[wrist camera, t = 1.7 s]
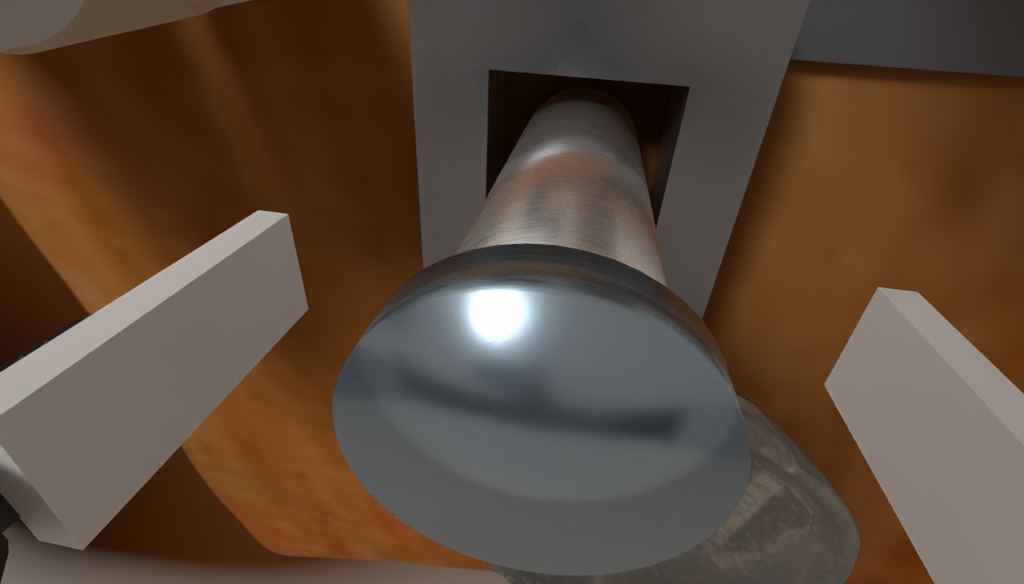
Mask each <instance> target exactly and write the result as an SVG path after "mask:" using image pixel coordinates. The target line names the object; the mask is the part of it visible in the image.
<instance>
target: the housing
mask: <svg viewBox="0 0 1024 584" xmlns="http://www.w3.org/2000/svg"><path fill="white" fill-rule="evenodd" d="M809 1H810V0H408V15H409V32H410V50H411V67H412V84H413V101H414V118H415V136H416V153H417V170H418V187H419V204H420V222H421V239H422V256H423V269H424V268H426V267H428V266H430V265H432V264H434V263H437V262H439V261H441V260H443V259H445V258H447V257H450V256H453V255H455V254H456V252H457V250H458V249H459V247H460V245H461V243H462V241H463V240H464V238H465V236H466V234H467V232H468V231H469V229H470V227H471V225H472V223H473V222H474V220H475V218H476V216H477V214H478V212H479V211H480V209H481V207H482V205H483V203H484V202H485V200H486V198H487V196H488V194H489V193H490V191H491V189H492V187H493V185H494V184H495V182H496V180H497V178H498V176H499V175H500V173H501V171H502V156H503V132H504V108H505V84H506V71H512V72H523V73H535V74H547V75H559V76H571V77H583V78H595V79H607V80H618V81H630V82H642V83H654V84H666V85H673V90H672V94H671V99H670V103H669V108H668V112H667V117H666V121H665V126H664V130H663V135H662V139H661V144H660V148H659V153H658V157H657V162H656V166H655V171H654V175H653V180H652V184H651V189H650V193H649V198H650V203H651V207H652V212H653V217H654V222H655V227H656V232H657V237H658V242H659V247H660V252H661V257H662V262H663V267H664V272H665V276H666V281H667V286H668V289H670V290H671V291H672V292H673V293H675V294H676V295H677V296H678V297H680V298H681V299H682V300H683V301H685V302H686V303H687V304H688V305H689V307H690V308H691V309H692V310H693V311H694V312H695V313H696V314H697V315H698V316H699V317H700V318H701V319H702V318H703V315H704V312H705V309H706V306H707V304H708V301H709V298H710V295H711V292H712V289H713V286H714V283H715V280H716V277H717V274H718V271H719V268H720V265H721V262H722V259H723V256H724V253H725V250H726V247H727V244H728V241H729V238H730V235H731V232H732V229H733V226H734V224H735V221H736V218H737V215H738V212H739V209H740V206H741V203H742V200H743V197H744V194H745V191H746V188H747V185H748V182H749V179H750V176H751V173H752V170H753V167H754V164H755V161H756V158H757V155H758V152H759V149H760V146H761V144H762V141H763V138H764V135H765V132H766V129H767V126H768V123H769V120H770V117H771V114H772V111H773V108H774V105H775V102H776V99H777V96H778V93H779V90H780V87H781V84H782V81H783V78H784V75H785V72H786V69H787V66H788V64H789V61H790V58H791V55H792V52H793V49H794V46H795V43H796V40H797V37H798V34H799V31H800V28H801V25H802V22H803V19H804V16H805V13H806V10H807V7H808V4H809Z"/></svg>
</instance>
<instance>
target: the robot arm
mask: <svg viewBox="0 0 1024 584" xmlns="http://www.w3.org/2000/svg"><path fill="white" fill-rule="evenodd" d="M307 310H308V305H307V300H306V295H305V290H304V286H303V281H302V276H301V272H300V267H299V262H298V258H297V253H296V248H295V244H294V239H293V234H292V230H291V225H290V220H289V215H288V214H284V213H276V212H268V211H260V210H258V211H256V212H255V213H253V214H252V215H250V216H248V217H247V218H245V219H244V220H242V221H240V222H239V223H237V224H236V225H234V226H232V227H231V228H229V229H228V230H226V231H225V232H223V233H221V234H220V235H218V236H217V237H215V238H213V239H212V240H210V241H209V242H207V243H205V244H204V245H202V246H201V247H199V248H197V249H196V250H194V251H193V252H191V253H190V254H188V255H186V256H185V257H183V258H182V259H180V260H178V261H177V262H175V263H174V264H172V265H170V266H169V267H167V268H166V269H164V270H162V271H161V272H159V273H158V274H156V275H155V276H153V277H151V278H150V279H148V280H147V281H145V282H143V283H142V284H140V285H139V286H137V287H135V288H134V289H132V290H131V291H129V292H127V293H126V294H124V295H123V296H121V297H119V298H118V299H116V300H115V301H113V302H112V303H110V304H108V305H107V306H105V307H104V308H102V309H100V310H99V311H97V312H96V313H94V314H91V315H89V316H86V317H84V318H82V319H79V320H76V321H74V322H72V323H71V324H69V325H67V326H66V327H64V328H62V329H61V330H59V331H58V332H56V333H54V334H53V335H51V336H50V337H48V338H46V339H45V340H44V343H43V344H37V345H35V346H33V347H32V348H30V349H29V350H27V351H25V352H24V353H22V354H21V355H19V356H20V357H19V359H18V360H15V359H12V360H11V361H9V362H8V363H6V364H4V365H3V366H1V367H0V582H1V579H2V575H3V571H4V567H5V563H6V560H7V556H8V553H9V551H8V540H7V539H6V538H5V536H4V535H3V534H2V533H3V532H4V531H5V530H6V529H7V528H8V527H9V526H11V525H12V524H13V523H14V522H15V521H16V520H17V519H18V518H20V519H21V520H22V521H23V522H24V524H25V525H26V526H27V527H28V528H29V529H30V531H32V533H33V534H34V535H35V536H36V538H37V539H38V540H40V541H44V542H48V543H53V544H58V545H63V546H67V547H72V548H76V549H81V550H83V549H84V548H85V547H86V546H87V545H88V544H89V543H90V542H91V541H92V540H93V539H94V537H95V536H96V535H97V534H98V533H99V532H100V531H101V530H102V529H103V528H104V527H105V526H106V525H107V524H108V523H109V521H110V520H111V519H112V518H113V517H114V516H115V515H116V514H117V513H118V512H119V511H120V510H121V509H122V507H124V505H125V504H126V503H127V502H128V501H129V500H130V499H131V498H132V497H133V496H134V495H135V494H136V492H137V491H139V489H140V488H141V487H142V486H143V485H144V484H145V483H146V482H147V481H148V480H149V478H151V477H152V476H153V475H154V473H155V472H156V471H157V470H158V469H159V468H160V467H161V466H162V465H163V464H164V463H165V462H166V461H167V460H168V458H169V457H170V456H171V455H172V454H173V453H174V452H175V451H176V450H177V449H178V448H179V447H180V446H181V445H182V444H183V443H184V441H185V440H186V439H187V438H188V437H189V436H190V435H191V434H192V433H193V432H194V431H195V430H196V429H197V428H198V427H199V425H200V424H201V423H202V422H203V421H204V420H205V419H206V418H207V417H208V416H209V415H210V414H211V413H212V412H213V411H214V409H215V408H216V407H217V406H218V405H219V404H220V403H221V402H222V401H223V400H224V399H225V398H226V397H227V396H228V395H229V393H230V392H231V391H232V390H233V389H234V388H235V387H236V386H237V385H238V384H239V383H240V382H241V381H242V380H243V379H244V377H245V376H246V375H247V374H248V373H249V372H250V371H251V370H252V369H253V368H254V367H255V366H256V365H257V364H258V363H259V361H260V360H261V359H262V358H263V357H264V356H265V355H266V354H267V353H268V352H269V351H270V350H271V349H272V348H273V347H274V345H275V344H276V343H277V342H278V341H279V340H280V339H281V338H282V337H283V336H284V335H285V334H286V333H287V332H288V331H289V329H290V328H291V327H292V326H293V325H294V324H295V323H296V322H297V321H298V320H299V319H300V318H301V317H302V316H303V315H304V313H305V312H306V311H307ZM824 386H825V387H826V389H827V391H828V393H829V395H830V396H831V398H832V400H833V402H834V404H835V405H836V407H837V409H838V411H839V413H840V414H841V416H842V418H843V420H844V422H845V423H846V425H847V427H848V429H849V431H850V432H851V434H852V436H853V438H854V440H855V441H856V443H857V445H858V447H859V449H860V450H861V452H862V454H863V456H864V458H865V459H866V461H867V463H868V465H869V467H870V468H871V470H872V472H873V474H874V476H875V477H876V479H877V481H878V483H879V485H880V486H881V488H882V490H883V492H884V494H885V495H886V497H887V499H888V501H889V503H890V504H891V506H892V508H893V510H894V512H895V513H896V515H897V517H898V519H899V521H900V522H901V524H902V526H903V528H904V530H905V531H906V533H907V535H908V537H909V539H910V540H911V542H912V544H913V546H914V548H915V549H916V551H917V553H918V555H919V557H920V558H921V560H922V562H923V564H924V566H925V567H926V569H927V571H928V573H929V575H930V576H931V578H932V580H933V582H934V584H1024V394H1023V393H1022V392H1021V391H1020V390H1019V389H1018V388H1017V387H1016V386H1015V385H1014V384H1013V383H1012V382H1011V381H1010V380H1009V379H1008V378H1007V377H1005V376H1004V375H1003V374H1002V373H1001V372H1000V371H999V370H998V369H997V368H996V367H995V366H994V365H993V364H992V363H991V362H990V361H989V360H988V359H987V358H986V357H985V356H984V355H983V354H982V353H981V352H980V351H978V350H977V349H976V348H975V347H974V346H973V345H972V344H971V343H970V342H969V341H968V340H967V339H966V338H965V337H964V336H963V335H962V334H961V333H960V332H959V331H958V330H957V329H956V328H955V327H954V326H952V325H951V324H950V323H949V322H948V321H947V320H946V319H945V318H944V317H943V316H942V315H941V314H940V313H939V312H938V311H937V310H936V309H935V308H934V307H933V306H932V305H931V304H930V303H929V302H928V301H927V300H925V299H924V298H923V297H922V296H921V295H920V294H919V293H918V292H913V291H905V290H897V289H889V288H881V287H878V288H877V290H876V292H875V293H874V295H873V297H872V299H871V301H870V302H869V304H868V306H867V308H866V310H865V312H864V313H863V315H862V317H861V319H860V321H859V322H858V324H857V326H856V328H855V330H854V331H853V333H852V335H851V337H850V339H849V341H848V342H847V344H846V346H845V348H844V350H843V351H842V353H841V355H840V357H839V359H838V361H837V362H836V364H835V366H834V368H833V370H832V371H831V373H830V375H829V377H828V379H827V380H826V382H825V384H824Z"/></svg>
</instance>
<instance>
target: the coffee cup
mask: <svg viewBox="0 0 1024 584" xmlns="http://www.w3.org/2000/svg"><path fill="white" fill-rule="evenodd" d="M246 1H251V0H0V54H10V55H24V54H32V53H38V52H42V51H47V50H51V49H55V48H60V47H64V46H68V45H73V44H77V43H81V42H86V41H90V40H94V39H99V38H103V37H108V36H112V35H116V34H121V33H125V32H129V31H134V30H138V29H142V28H147V27H151V26H156V25H160V24H164V23H169V22H173V21H177V20H182V19H186V18H190V17H195V16H199V15H202V14H205V13H207V12H209V11H211V10H213V9H215V8H216V7H221V6H226V5H231V4H236V3H241V2H246Z"/></svg>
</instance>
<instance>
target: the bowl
mask: <svg viewBox="0 0 1024 584" xmlns="http://www.w3.org/2000/svg"><path fill="white" fill-rule="evenodd" d="M736 397H737V400H738V403H739V406H740V409H741V412H742V416H743V419H744V422H745V426H746V430H747V434H748V437H749V441H750V453H751V467H750V473H749V478H748V484H747V486H746V488H745V491H744V493H743V496H742V498H741V501H740V502H739V504H738V505H737V507H736V508H735V510H734V511H733V513H732V515H731V516H730V517H729V518H728V519H727V521H726V522H725V523H724V524H723V525H722V526H721V527H720V528H719V529H718V530H717V531H716V532H715V533H713V534H712V535H711V536H709V537H708V538H707V539H706V540H704V541H703V542H702V543H700V544H698V545H697V546H695V547H693V548H692V549H690V550H688V551H686V552H685V553H683V554H680V555H678V556H676V557H673V558H671V559H669V560H666V561H664V562H661V563H657V564H654V565H651V566H648V567H644V568H640V569H635V570H631V571H626V572H619V573H611V574H604V575H585V576H574V575H553V574H542V573H534V572H528V571H522V570H516V569H512V568H507V567H503V566H499V565H495V564H491V563H488V562H486V563H487V564H488V565H489V566H490V567H491V568H492V569H493V570H494V571H495V572H497V573H498V574H500V575H502V576H503V577H505V578H506V579H507V580H508V581H509V582H510V583H511V584H844V583H845V581H846V580H847V579H848V577H849V576H850V574H851V573H852V571H853V568H854V565H855V562H856V559H857V556H858V553H859V550H860V546H861V541H860V536H859V530H858V526H857V524H856V522H855V520H854V518H853V516H852V514H851V512H850V510H849V508H848V507H847V505H846V504H845V503H844V501H843V500H842V498H841V497H840V496H839V494H838V493H837V492H836V490H835V489H834V487H833V486H832V485H831V483H830V482H829V481H828V479H827V478H826V477H825V475H824V474H823V473H822V472H821V471H820V470H819V469H818V468H817V467H816V465H815V464H814V463H813V462H812V461H811V460H810V459H809V458H808V457H807V456H806V454H805V453H804V452H803V451H802V450H801V449H800V447H799V446H798V445H797V444H796V443H795V442H794V441H793V440H792V439H791V438H790V437H789V436H788V435H787V434H786V433H785V432H784V431H783V430H781V429H780V428H779V427H778V426H777V425H776V424H775V423H774V422H773V421H772V420H771V419H770V418H768V417H767V416H766V415H765V414H763V413H762V412H761V411H760V409H759V408H758V407H756V406H755V405H754V404H752V403H751V402H749V401H747V400H746V399H744V398H742V397H740V396H738V395H736Z"/></svg>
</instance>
